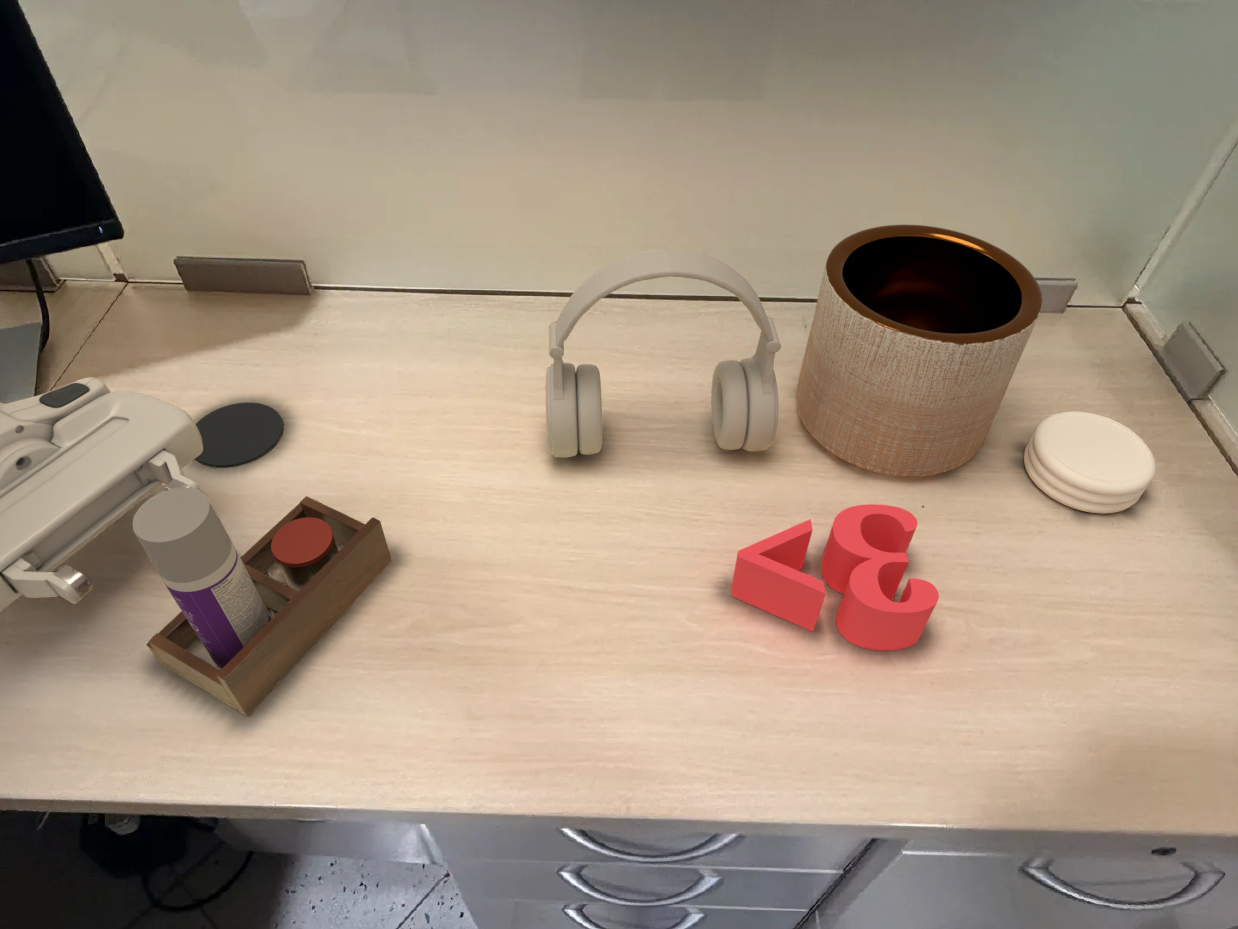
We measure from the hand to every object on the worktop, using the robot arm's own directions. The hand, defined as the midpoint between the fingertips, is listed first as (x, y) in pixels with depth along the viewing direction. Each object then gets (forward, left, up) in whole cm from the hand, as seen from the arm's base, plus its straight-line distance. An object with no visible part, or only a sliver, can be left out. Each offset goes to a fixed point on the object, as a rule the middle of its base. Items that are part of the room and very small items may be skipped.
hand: (140, 541), depth 58 cm
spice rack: (+6, -5, -9) cm, 11 cm away
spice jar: (+9, -4, -9) cm, 13 cm away
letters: (+38, -31, -9) cm, 50 cm away
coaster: (+66, -38, -9) cm, 77 cm away
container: (+2, -6, -9) cm, 11 cm away
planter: (+59, -22, -9) cm, 64 cm away
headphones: (+40, -10, -9) cm, 42 cm away
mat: (+11, +16, -9) cm, 21 cm away
